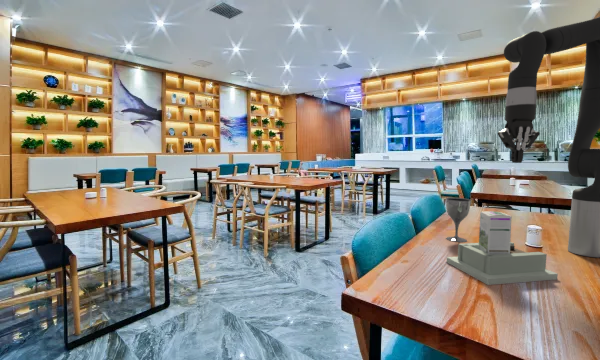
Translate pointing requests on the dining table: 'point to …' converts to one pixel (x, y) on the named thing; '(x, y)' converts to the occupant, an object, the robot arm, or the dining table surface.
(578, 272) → the dining table surface
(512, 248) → the clamp block
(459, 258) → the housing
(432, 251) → the dining table surface
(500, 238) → the syrup box
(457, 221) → the wine glass
